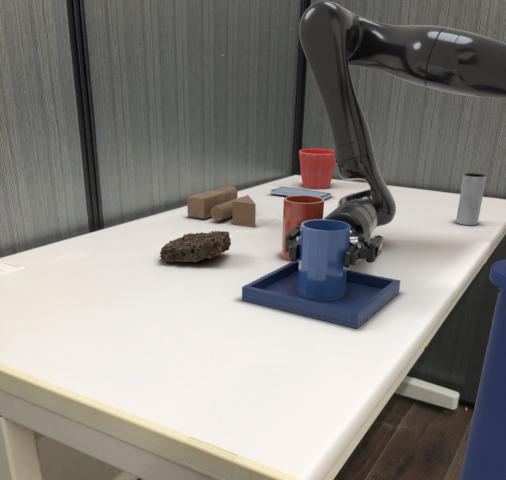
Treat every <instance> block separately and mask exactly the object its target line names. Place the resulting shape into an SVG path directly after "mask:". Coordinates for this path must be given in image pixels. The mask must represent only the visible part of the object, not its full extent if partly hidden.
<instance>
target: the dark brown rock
mask: <svg viewBox="0 0 506 480" xmlns="http://www.w3.org/2000/svg"><path fill="white" fill-rule="evenodd" d="M231 240H232V239H231V237H230V232H229V231H223V230H222V231H221V230H215V231H214V230H212V231H209V232H196V233H191V232H190V233H186V234H184V235H183V236H181V237H177V238H176V239H173V240H169V241H168V242H167V243H166V244H164V245H163V246H162V247H161V249H160V252H159V258H160V261H161V262H164V263H165V262H169V263H174V262H182V263H183V262H185V263H186V262H187V263H197V262H199V261H202V260H203V261H204V260H205V259H209V260H210V259H213V258H215V257H218V256H220V255H221V254H222V253H225V252H228V251H229V250H230V247H231V246H232V241H231Z"/></svg>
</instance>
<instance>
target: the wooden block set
mask: <svg viewBox="0 0 506 480" xmlns="http://www.w3.org/2000/svg"><path fill="white" fill-rule="evenodd" d="M186 201H187V217H188V218H193V219H200V220H207V219H210V218H211V219H212V220H213V221H215V222H220V221H223V220H226V219H228V218H230V217H232V221H231V222H232V225H237V226H245V227H253V228H255V227H256V205H257V204H256V203H255V202H254V200H253V199H252V198H251V197H250V196H249V194H247V195H244V196H240V197H238V189H237V188H236V187H235V186H232V185H226V186H223V187H222V186H221V187H219V188H216V189H213V190H212V189H211V190H210V189H209V190H206V191H202V192H199V193H195V194H192V195H189V196H187V197H186Z"/></svg>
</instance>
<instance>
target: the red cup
mask: <svg viewBox="0 0 506 480" xmlns="http://www.w3.org/2000/svg"><path fill="white" fill-rule="evenodd" d="M282 208H283V211H282V235H281V236H282V237H281V238H282V239H281V257H282V258H283V259H285V260H286V261H287V260H288V261H291V262H292V260H291V257H289V253H288V252H285V239H286V234H288V233H289V232H290V231H291V230H292V229H293V228H294V227H301V223H302V222H304V221H308V220H314V219H324V214H325V199H323V198H320V197H316V196H306V195H296V196H286V197H284V198H283V207H282ZM298 261H299V259H298Z"/></svg>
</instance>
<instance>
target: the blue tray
mask: <svg viewBox="0 0 506 480" xmlns="http://www.w3.org/2000/svg"><path fill="white" fill-rule="evenodd" d="M298 271H299V261H298V260H297V261H291V262H288V263H287V264H284V265H282V266H281V267H279V268H277V269H274V270H273V271H271V272H269V273H267V274H265V275H263V276H261V277H259V278H256V279H255V280H253V281H251V282H249V283H247V284H245V285H243V286H241V300H242V301H245V302H249V303H251V304H257V305H261V306H264V307H269V308H272V309H277V310H282V311H285V312H289V313H293V314H296V315H301V316H305V317H309V318H313V319H317V320H321V321H326V322H329V323H332V324H333V323H334V324H337V325H342V326H346V327H349V328H352V329H358V328H359V327H360V326H361V325H362V324H364V323H365V322H366V321H367V320H369V319H370V318H371V317H373V316H374V315H375V314H376V313H377V312H378V311H379V310H381V308H383V307H385V305H387V304H388V303H389V302H390V301H391V300H392V299H394V298H395V297H396V296H397V295H398V294H399V293H400V286H401V280H400V279H395V278H391V277H390V278H389V277H384V276H379V275H374V274H370V273H365V272H358V271H354V270H349V269H347V277H346V289H345V296H344V297H343V298H341V299H339V300H336V301H327V302H322V301H313V300H308V299H305V298H303V297H301V296H300V295H299V294H298Z"/></svg>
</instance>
